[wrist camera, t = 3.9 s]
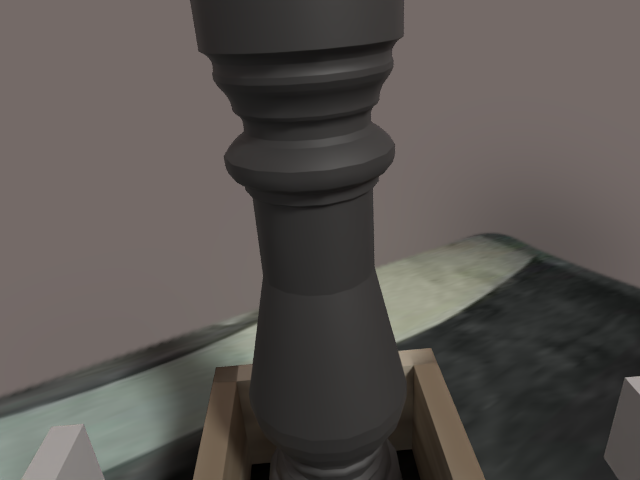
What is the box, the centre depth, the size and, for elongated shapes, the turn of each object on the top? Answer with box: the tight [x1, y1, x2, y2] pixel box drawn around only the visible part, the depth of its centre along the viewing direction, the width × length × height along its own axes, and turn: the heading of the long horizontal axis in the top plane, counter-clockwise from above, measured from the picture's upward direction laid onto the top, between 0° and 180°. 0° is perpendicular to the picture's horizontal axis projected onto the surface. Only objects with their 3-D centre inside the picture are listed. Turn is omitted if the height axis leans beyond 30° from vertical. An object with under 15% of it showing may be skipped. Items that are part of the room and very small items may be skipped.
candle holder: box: [190, 0, 407, 480], centre depth 18 cm, size 6×6×25 cm
